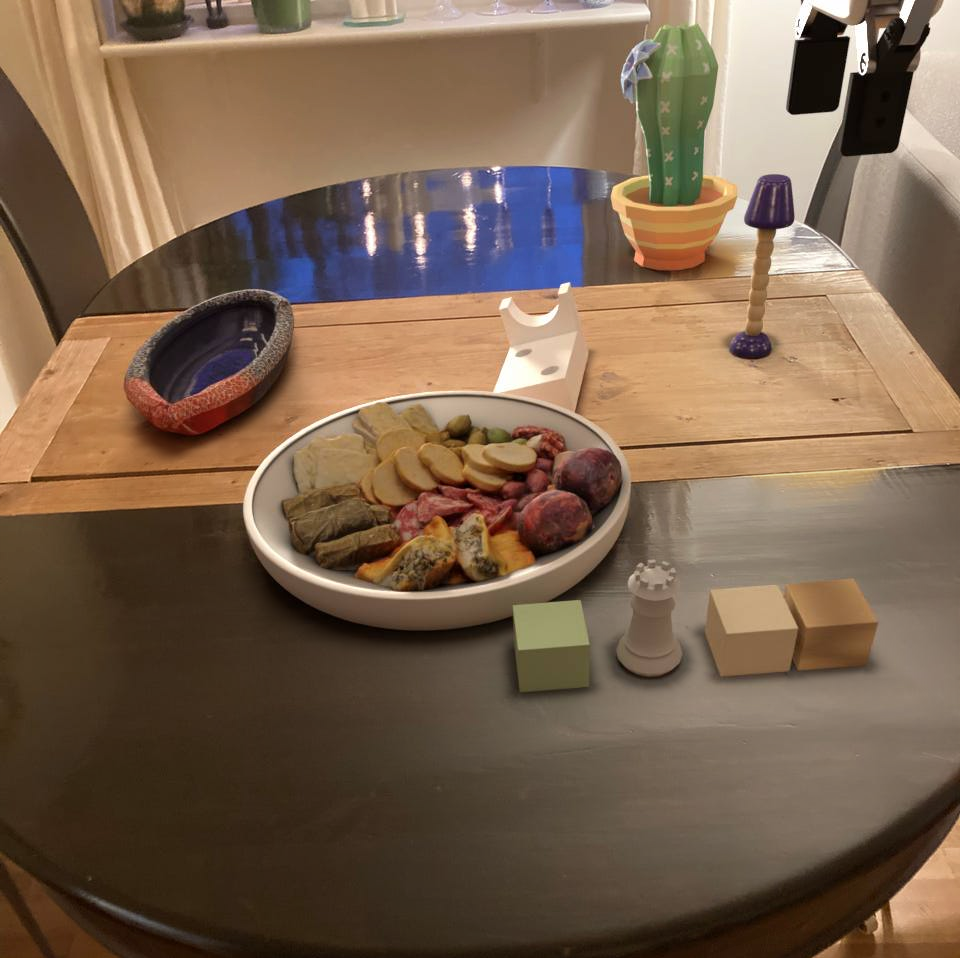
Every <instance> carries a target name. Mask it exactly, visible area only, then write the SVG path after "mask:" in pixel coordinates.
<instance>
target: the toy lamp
mask: <svg viewBox="0 0 960 958" xmlns="http://www.w3.org/2000/svg"><path fill="white" fill-rule="evenodd" d="M756 181H757V182H756V183H755V186H754V189H753V191H752V194H751V197H750V199H749V201H748V205H747V207H746V210H745V214H744V216H743V222H744V224H745V225H746V226H748V227H750V228H754V229H756V238H757V240H756V243H755V245H754V255H755V257H754V258H753V261H752V271H753V272H752V274H751V276H750V287H751V288H750V289H749V293H748V302H749V304H748V305H747V309H746V317H747V319H746V321H745V323H744V330H743V331H741V332H739V333H738V334H736V335H735V336H734V337H733V339H732V340H731V342H730V345H729V352H730V353H731V354H732V355H734V356H737V357H740V358H744V359H745V358H746V359H759V358H764V357H766V356H768V355H770V354H771V353H772V350H773V349H772V348H773V346H772V341H771V339H770V337H769V336H768V335H767V334H766V333H764V332H762V331H763V328H764V321H763V318H764V316H765V313H766V306H765V303H766V301H767V299H768V289H767V287H768V286H769V282H770V273H769V272H770V270H771V268H772V267H771V266H772V258H771V257H772V254H773V252H774V249H775V244H774V239H775V237H776V235H777V230H781V229H786V228H789V227H791V226H792V225H793V224H794V223H795V206H794V205H795V204H794V195H793V193H794V192H793V185H792V180H791V178H790V176H788V175H785V174H779V173H770V174H769V173H768V174H764V175H761V176H760V177H759V178H758V179H757V180H756Z"/></svg>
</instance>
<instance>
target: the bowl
mask: <svg viewBox="0 0 960 958" xmlns="http://www.w3.org/2000/svg"><path fill="white" fill-rule="evenodd" d="M630 470H631V469H630V467H629V464H628V461H627V459H626V456H625V454H624V453H623V451H622V449H621V448H620V446H619V445H618V444H617V443H616V441H615V440H614V439H613V438H612V437H611V436H610V435H609V434H608V433H607V432H606V431H605V430H603V429H602V428H601V427H600V426H599V425H597V424H596V423H594V422H592V421H591V420H590V419H588V418H585V416H582V415H580V414H579V413H576V412H572V411H570V410H567V409H565V408H563V407H560V406H557V405H554V404H551V403H548V402H545V401H541V400H537V399H533V398H529V397H524V396H519V395H512V394H506V393H497V392H493V391H486V390H485V391H483V390H441V391H439V390H438V391H428V392H427V391H426V392H419V393H410V394H404V395H398V396H392V397H387V398H385V399H383V398H382V399H379V400H376V401H371V402H367V403H364V404H360V405H357V406H354V407H351V408H348V409H345V410H343V411H340V412H337V413H335V414H332V415H329V416H327V417H325V418H323V419H320V420H319V421H316V422H315V423H313V424H311V425H309V426H307V427H305V428H303V429H301V430H300V431H299V432H297V433H295V434H293V435H292V436H291V437H289V438H288V439H286V440H285V441H284V442H283V443H281V444H280V445H278V446H277V447H276V448H275V449H274V450H273V451H271V453H269V455H268V456H267V457H266V458H265V459H264V460H263V461H262V462H261V463H260V465H259V466H258V467H257V469H256V470H255V471H254V473H253V474H252V476H251V478H250V480H249V482H248V484H247V487H246V490H245V493H244V495H243V503H242V518H243V521H244V526H245V530H246V533H247V536H248V539H249V543H250V545H251V547H252V549H253V551H254V553H255V555H256V557H257V559H258V560H259V562H260V563H261V565H262V566H263V567H264V569H265V570H266V571H267V573H268V574H269V575H270V576H271V578H273V580H274V581H276V582H277V584H279V585H280V586H281V587H282V588H284V589H285V590H286V591H287V592H288V593H290V594H291V595H292V596H294V597H295V598H297V599H298V600H300V601H301V602H303V603H304V604H307V605H308V606H310V607H312V608H314V609H317V610H318V611H320V612H323V613H325V614H328V615H330V616H332V617H335V618H337V619H338V618H339V619H342V620H344V621H348V622H351V623H355V624H359V625H364V626H367V627H374V628H381V629H390V630H397V631H398V630H399V631H418V632H419V631H421V632H422V631H442V630H444V631H445V630H454V629H463V628H471V627H475V626H479V625H485V624H490V623H494V622H497V621H501V620H504V619H508V618H511V617H513V605H522V604H535V603H548V602H551V601H552V600H553V599H555V598H557V597H559V596H561V595H562V594H564V593H565V592H567V591H568V590H569V589H571V588H573V587H575V586H576V585H577V584H578V583H580V582H581V581H582V580H583V579H585V578H586V577H587V576H588V575H589V574H590V573H591V572H593V570H594V569H595V568H596V567H598V566H599V564H600V563H601V562H602V561H603V560H604V559H605V557H607V555H608V554H609V552H610V550H611V549H612V548H613V546H614V545H615V543H616V541H617V540H618V538H619V536H620V534H621V532H622V530H623V528H624V526H625V525H624V524H625V522H626V519H627V516H628V512H629V507H630V501H631V489H632V477H631V471H630Z"/></svg>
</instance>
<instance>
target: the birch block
mask: <svg viewBox="0 0 960 958" xmlns="http://www.w3.org/2000/svg"><path fill="white" fill-rule="evenodd" d="M783 597H784V599H785V601H786V603H787V605H788V607H789V610H790V612H791V614H792V616H793V618H794V620H795V622H796V624H797V627H798V632H797V637H796V642H795V646H794V651H793V656H792V661H793V663H794V666H795V668H796V670H797V671H809V670H820V669H833V668H846V667H847V668H848V667H860V666H867V665H868V663H869V662H868V661H869V657H870V654H871V650H872V647H873V644H874V643H873V642H874V640H875V636H876V632H877V628H878V626H879V620H878V619H877V616H876V615H875V613H874V611H873V609H872V608H871V606H870V604H869V602H868V601H867V599H866V597H865V596H864V594H863V592H862V590H861V589H860V587H859V585H858V584H857V582H856V580H855V579H854V578H845V579H833V580H821V581H819V580H818V581H807V582H793V583H792V582H791V583H786V584H785V587H784V594H783Z"/></svg>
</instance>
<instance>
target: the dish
mask: <svg viewBox="0 0 960 958" xmlns="http://www.w3.org/2000/svg"><path fill="white" fill-rule="evenodd" d="M294 331H295V316H294V312H293V307H292V304H291V302H290V301H289V300H288V299H287V298H285V297H283V296H281V295H280V294H278V293H276V292H275V291H274V292H273V291H270V290H265V289H255V288H253V289H241V290H236V291H232V292H231V291H230V292H226V293H222V294H220V295H217V296H213V297H211V298H209V299H207V300H204V301H201V302H200V303H197V304H195V305H193V306H191V307H190V308H187V309H186V310H184V311H182V312H181V313H178V314H177V315H176V316H174V317H172V318H171V319H170V320H168V321H167V322H165V323H164V324H163V325H162V326H161V327H158V329H157V330H156V331H154V332H153V333H152V334H151V335H150V337H149V338H147V339H146V340H145V341H144V343H143V344H142V345H141V346H140V348H139V349H138V350H137V352H136V353H135V354H134V356H133V357H132V359H131V361H130V363H129V365H128V367H127V368H126V369H127V370H126V372H125V375H124V379H123V390H124V393H125V396H126V397H125V398H126V400H128V402H129V403H130V404H131V405H132V406H133V407H135V408H136V409H137V411H138V412H139V413H140V414H141V415H143V416H144V417H145V418H146V420H148V422H149V423H151V425H153V426H154V427H156V428H158V429H159V430H161V431H166V432H170V433H177V434H181V435H189V436H190V435H192V436H194V435H203V434H204V433H206V432H209V431H211V430H213V429H215V428H217V427H218V426H220V425H221V424H223V423H225V422H227V421H228V420H230V419H232V418H234V417H236V416H238V415H240V414H242V413H243V412H245V411H246V410H248V409H250V408H251V407H252V406H253V405H255V404H257V402H258V401H260V400H261V399H262V398H263V397H264V395H265V394H266V393H267V392H268V391H269V390H270V389H271V388H272V386H273V385H274V383H275V382H276V381H277V379H278V378H279V376H280V375H281V373H282V370H283V369H284V367H285V364H286V361H287V358H288V355H289V353H290V349H291V344H292V341H293V340H292V339H293V335H294Z"/></svg>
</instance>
